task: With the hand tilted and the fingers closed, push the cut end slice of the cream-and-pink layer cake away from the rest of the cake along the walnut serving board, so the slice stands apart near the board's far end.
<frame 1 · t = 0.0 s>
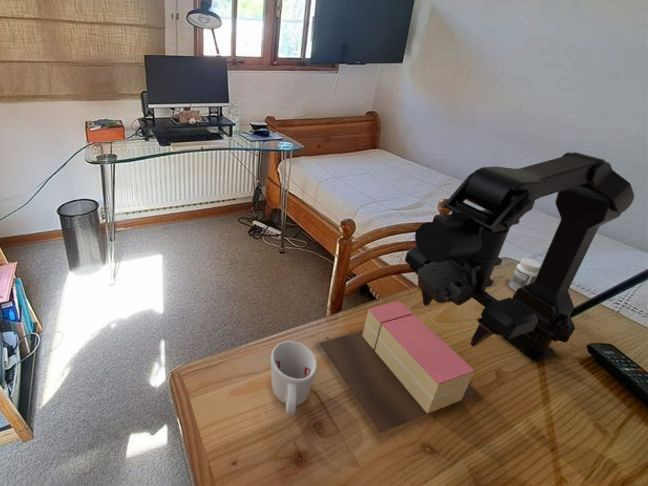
hand: (448, 323, 59), 15 cm above the table, tool pointing down, fingers open, 9 cm apart
serving board: (391, 369, 66), on the table
cup: (289, 398, 60), on the table
cake: (415, 373, 64), resting on serving board
pill bottle: (519, 289, 90), on the table
cake slice: (383, 338, 72), point 1 cm above the table, touching serving board
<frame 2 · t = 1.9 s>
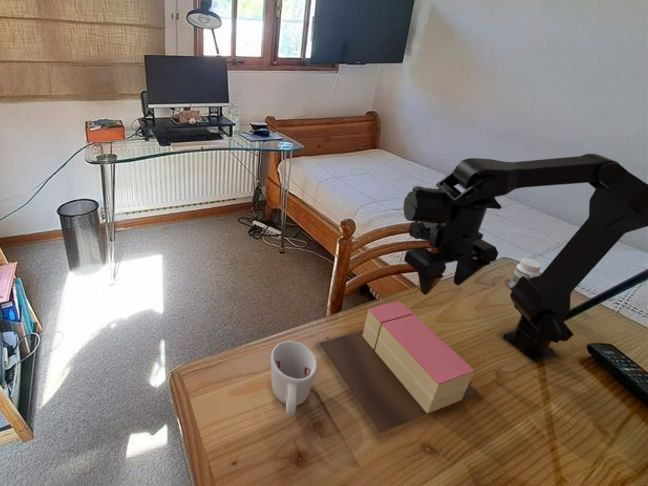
hand: (440, 288, 71), 12 cm above the table, tool pointing down, fingers open, 9 cm apart
nothing on the table moved.
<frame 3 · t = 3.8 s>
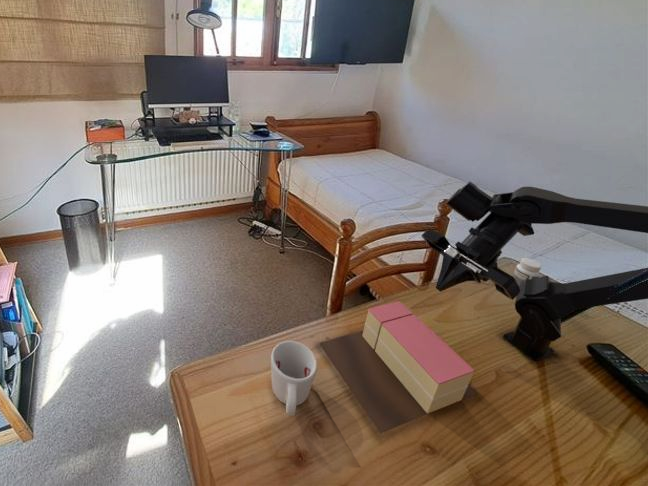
hand: (437, 289, 71), 11 cm above the table, tool tilted 45°, fingers closed
nothing on the table moved.
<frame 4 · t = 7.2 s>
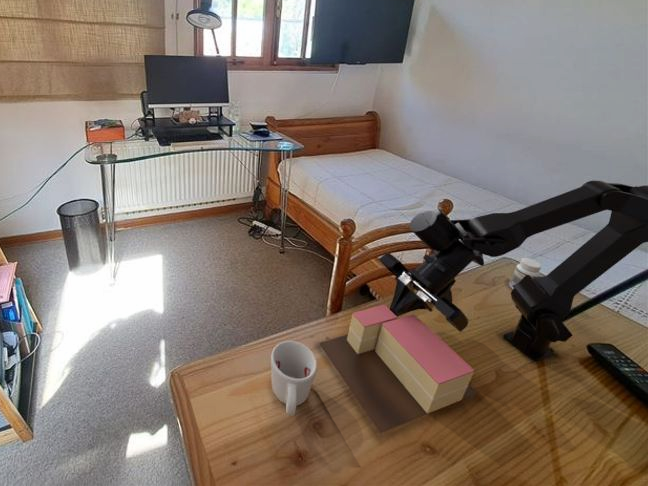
hand: (389, 316, 70), 7 cm above the table, tool tilted 45°, fingers closed, pressing on cake slice
cake slice: (368, 342, 71), point 1 cm above the table, touching gripper, serving board
everything else where it was.
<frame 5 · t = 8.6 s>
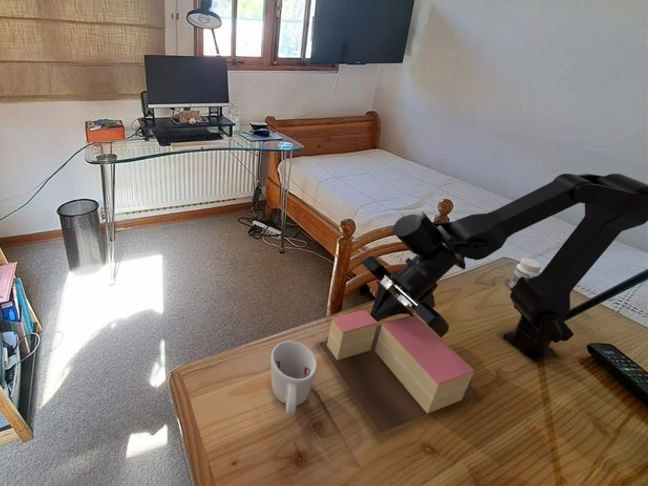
hand: (370, 321, 69), 7 cm above the table, tool tilted 45°, fingers closed
cake slice: (348, 347, 69), point 1 cm above the table, touching serving board
everything else where it was.
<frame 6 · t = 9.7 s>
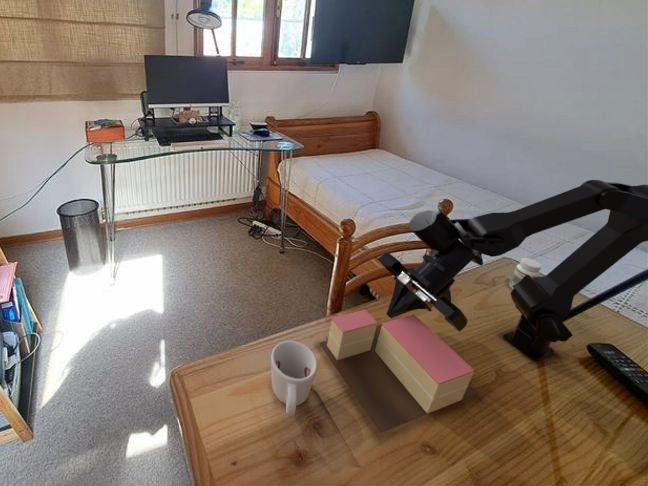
hand: (388, 316, 70), 7 cm above the table, tool tilted 45°, fingers closed
nothing on the table moved.
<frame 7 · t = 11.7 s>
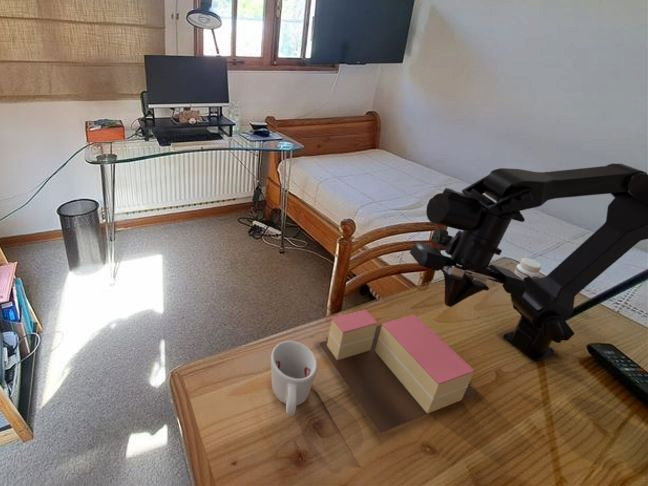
hand: (447, 305, 67), 12 cm above the table, tool pointing down, fingers closed
nothing on the table moved.
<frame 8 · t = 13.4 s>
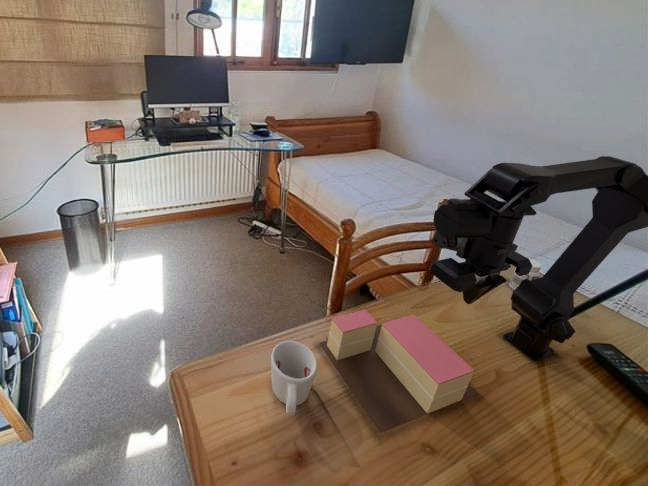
hand: (467, 302, 66), 13 cm above the table, tool pointing down, fingers closed
nothing on the table moved.
at the end: cake slice 0.3 cm from the target spot on the serving board, point 1.0 cm above the serving board's base; cake slice tilted 0°; pill bottle moved 0.2 cm from its start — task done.
